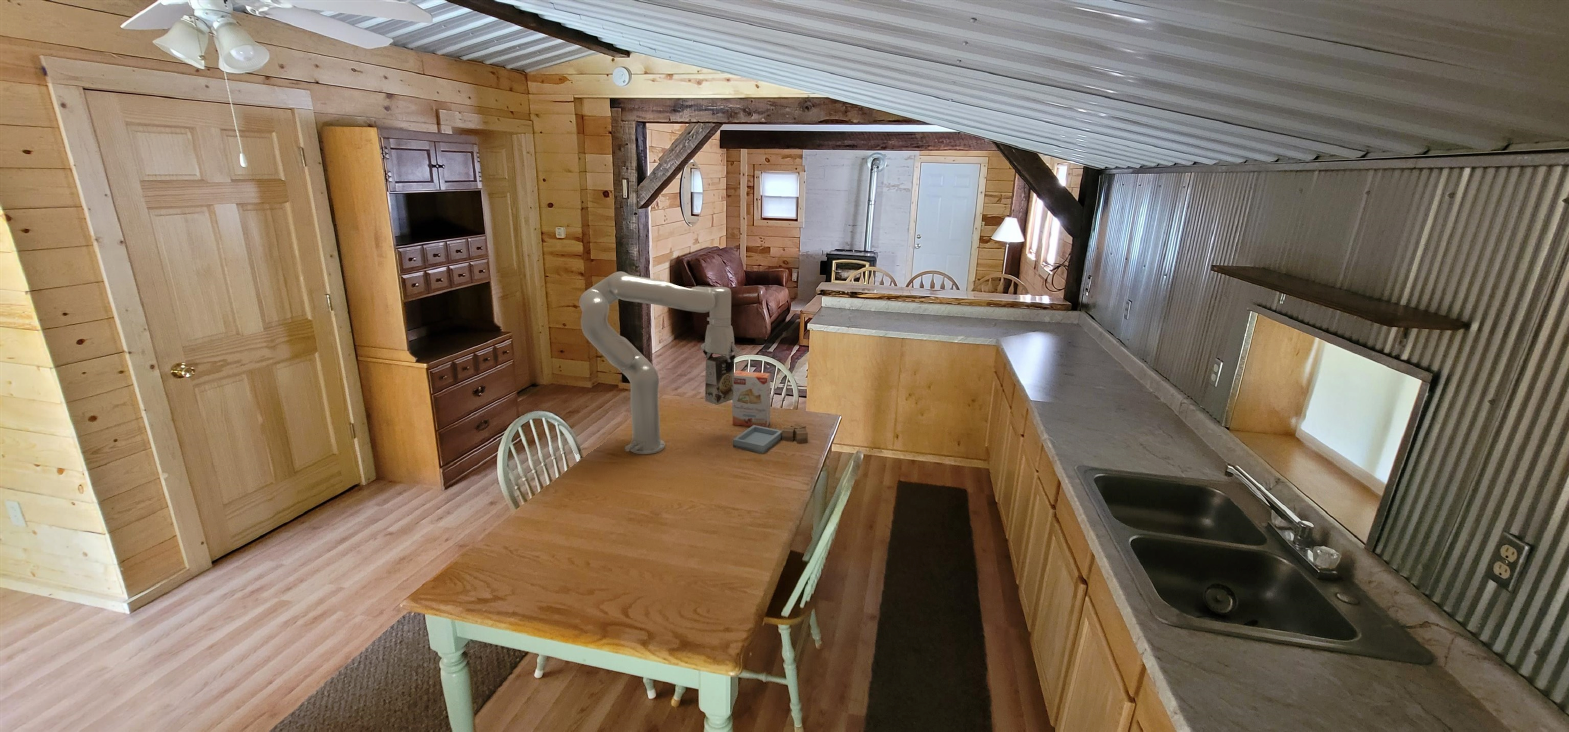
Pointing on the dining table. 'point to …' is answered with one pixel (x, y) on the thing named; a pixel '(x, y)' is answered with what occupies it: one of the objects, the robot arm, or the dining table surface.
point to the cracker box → (751, 399)
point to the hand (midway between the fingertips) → (719, 369)
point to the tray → (757, 439)
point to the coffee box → (718, 381)
